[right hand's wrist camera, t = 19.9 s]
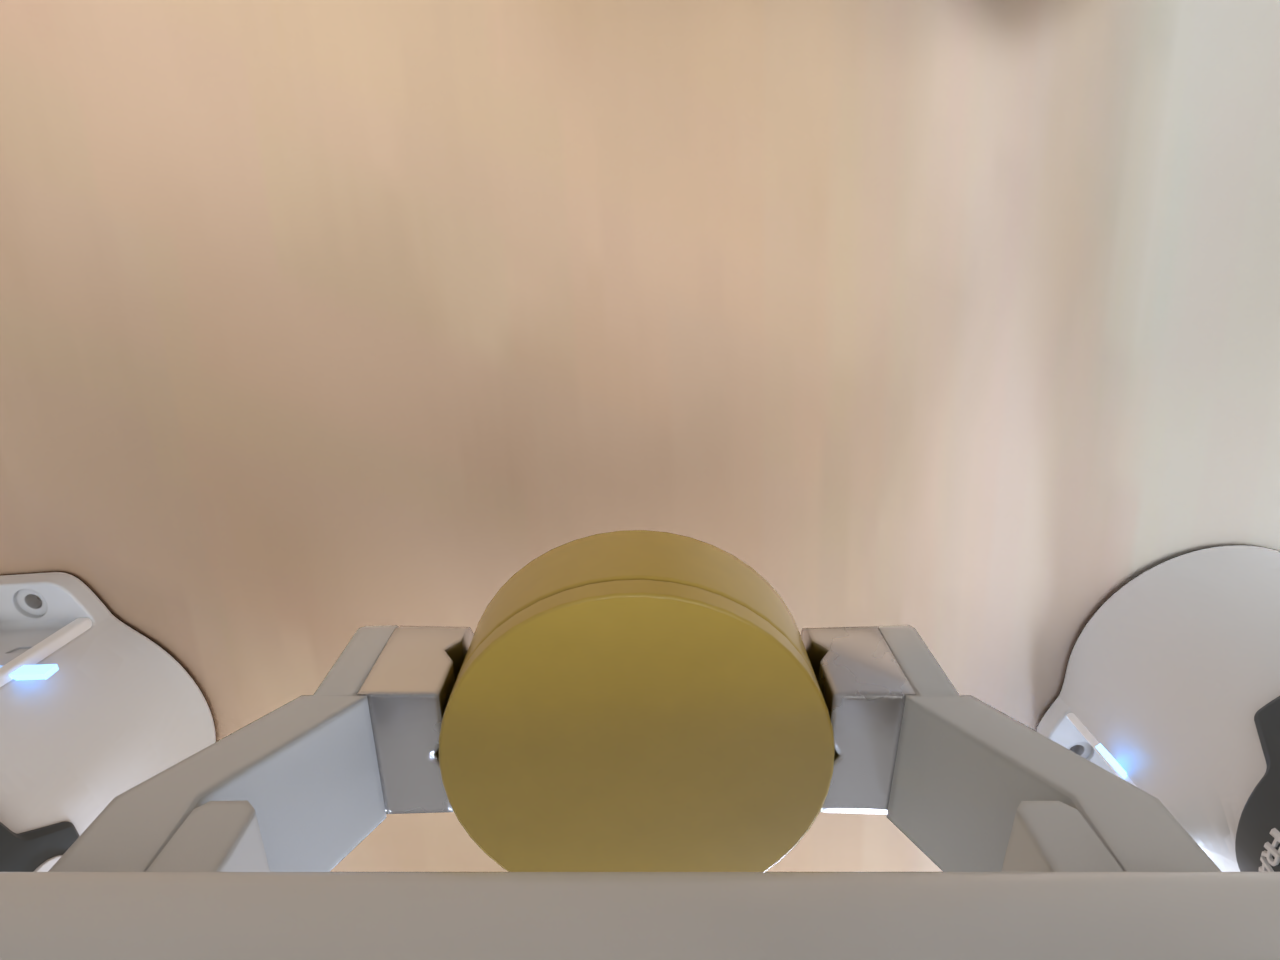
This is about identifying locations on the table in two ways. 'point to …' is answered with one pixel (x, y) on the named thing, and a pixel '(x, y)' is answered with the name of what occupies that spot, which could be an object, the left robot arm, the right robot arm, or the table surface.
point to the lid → (636, 714)
